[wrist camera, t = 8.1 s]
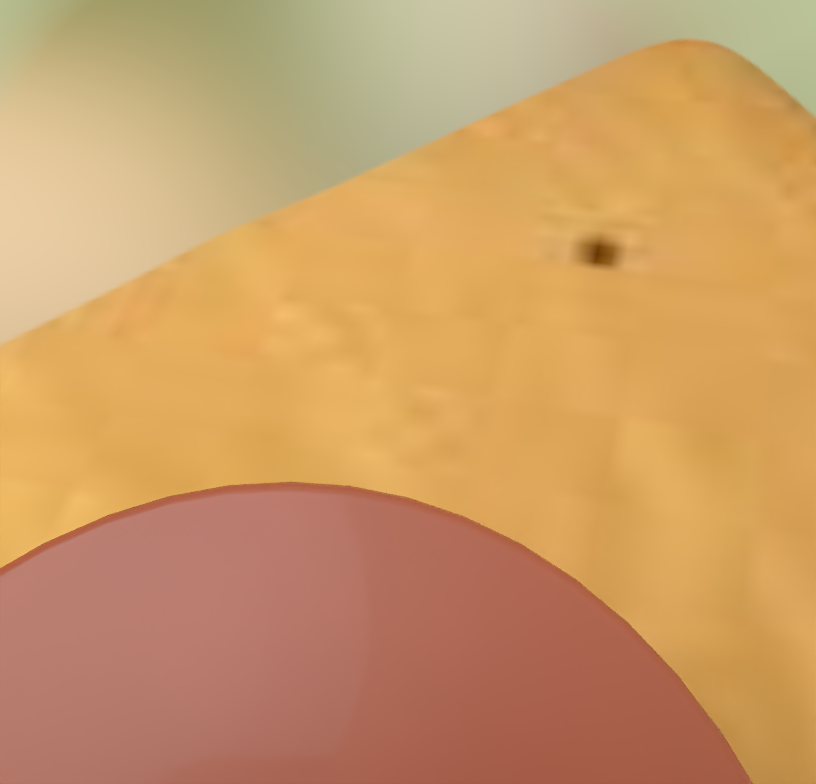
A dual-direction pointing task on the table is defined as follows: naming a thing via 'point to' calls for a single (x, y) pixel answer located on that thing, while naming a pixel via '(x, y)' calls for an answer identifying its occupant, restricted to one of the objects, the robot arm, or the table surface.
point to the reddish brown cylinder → (327, 654)
